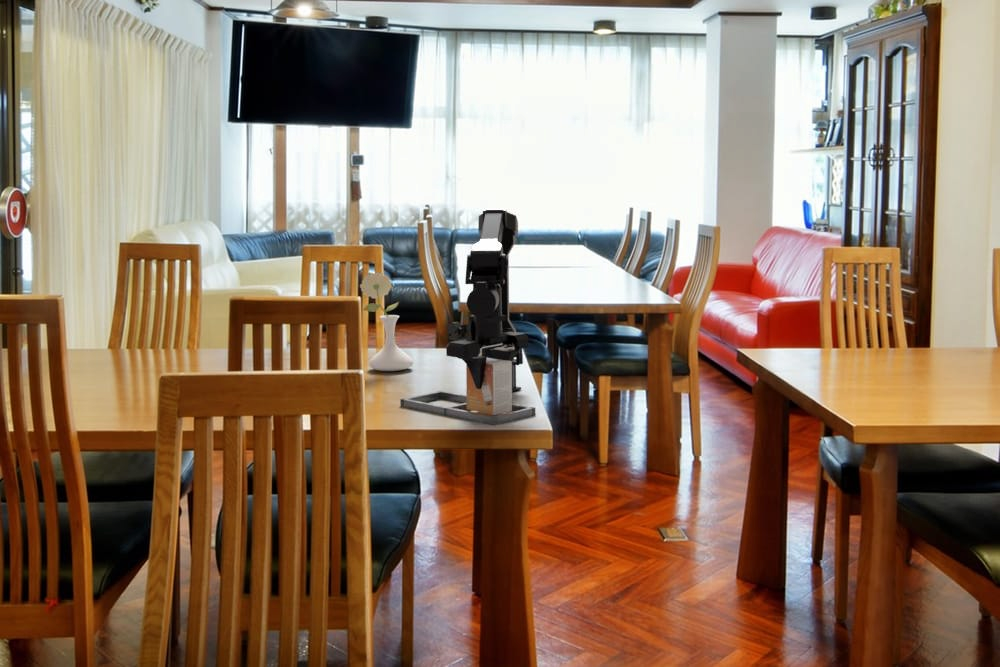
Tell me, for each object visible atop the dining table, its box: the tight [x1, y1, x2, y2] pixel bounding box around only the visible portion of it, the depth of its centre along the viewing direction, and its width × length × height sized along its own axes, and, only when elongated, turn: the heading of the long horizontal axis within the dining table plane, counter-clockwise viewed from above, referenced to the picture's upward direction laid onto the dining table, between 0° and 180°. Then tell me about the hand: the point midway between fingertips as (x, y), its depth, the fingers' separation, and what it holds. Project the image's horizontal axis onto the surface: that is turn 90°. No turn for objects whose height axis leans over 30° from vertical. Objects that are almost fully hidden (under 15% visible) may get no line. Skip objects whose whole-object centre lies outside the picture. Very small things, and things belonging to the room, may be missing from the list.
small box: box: [465, 357, 513, 415], centre depth 221 cm, size 8×6×10 cm
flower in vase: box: [359, 271, 414, 372], centre depth 274 cm, size 13×11×25 cm
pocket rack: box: [399, 390, 536, 426], centre depth 226 cm, size 12×28×2 cm, turn 46°
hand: (489, 386), depth 221 cm, fingers closed on small box, 6 cm apart
